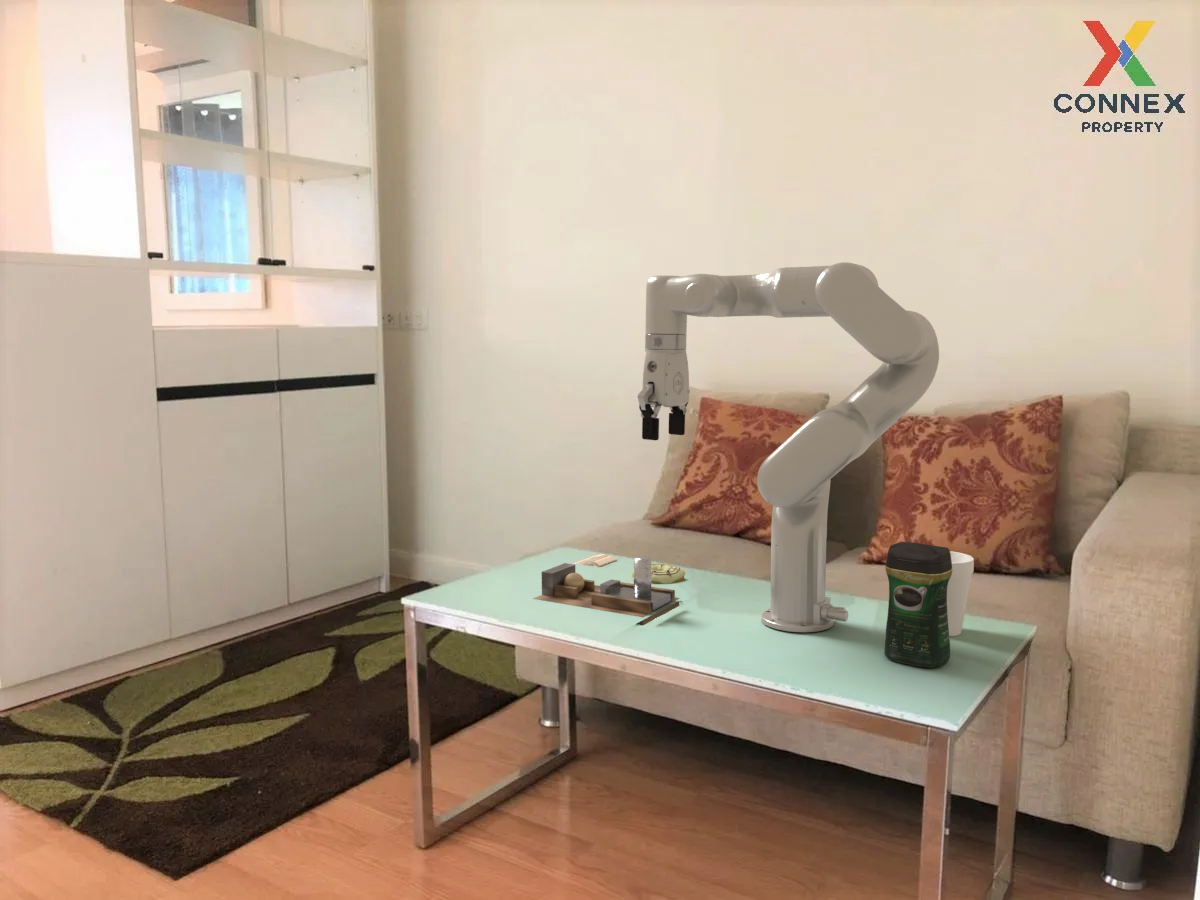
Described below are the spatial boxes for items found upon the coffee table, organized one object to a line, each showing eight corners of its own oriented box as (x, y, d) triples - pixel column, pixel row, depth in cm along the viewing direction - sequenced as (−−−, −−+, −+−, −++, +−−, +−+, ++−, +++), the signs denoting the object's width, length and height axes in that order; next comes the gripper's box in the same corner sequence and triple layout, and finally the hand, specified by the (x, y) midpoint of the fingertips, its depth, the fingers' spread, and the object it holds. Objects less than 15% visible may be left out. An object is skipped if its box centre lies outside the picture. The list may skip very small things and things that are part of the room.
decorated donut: (674, 594, 194) (674, 575, 193) (624, 588, 198) (624, 570, 198) (691, 581, 203) (691, 563, 203) (643, 576, 208) (643, 558, 207)
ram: (670, 601, 182) (670, 556, 181) (652, 610, 176) (652, 564, 175) (615, 593, 188) (614, 549, 187) (596, 601, 182) (595, 556, 181)
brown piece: (679, 605, 185) (679, 574, 184) (643, 625, 173) (642, 592, 172) (573, 589, 197) (573, 560, 197) (532, 606, 186) (532, 575, 185)
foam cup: (901, 626, 171) (903, 553, 169) (944, 619, 174) (946, 548, 173) (938, 642, 162) (941, 565, 161) (982, 635, 165) (985, 560, 164)
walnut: (588, 592, 190) (588, 571, 189) (577, 597, 186) (576, 576, 186) (571, 589, 192) (571, 569, 191) (559, 594, 188) (559, 573, 188)
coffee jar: (956, 659, 154) (960, 543, 151) (936, 673, 148) (940, 553, 145) (897, 646, 160) (900, 535, 158) (876, 659, 154) (879, 544, 152)
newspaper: (594, 560, 225) (594, 552, 224) (620, 564, 221) (620, 556, 221) (532, 583, 205) (532, 574, 205) (559, 587, 201) (559, 579, 201)
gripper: (659, 345, 169) (657, 443, 172) (705, 343, 184) (703, 434, 186) (623, 344, 174) (621, 440, 176) (670, 342, 188) (668, 431, 190)
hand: (663, 437), depth 181 cm, fingers open, 9 cm apart
